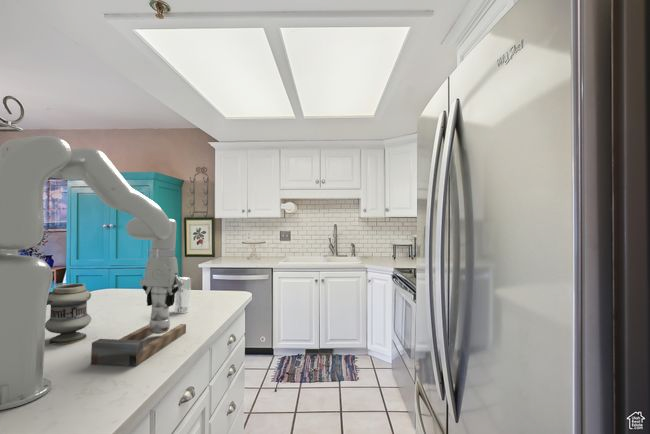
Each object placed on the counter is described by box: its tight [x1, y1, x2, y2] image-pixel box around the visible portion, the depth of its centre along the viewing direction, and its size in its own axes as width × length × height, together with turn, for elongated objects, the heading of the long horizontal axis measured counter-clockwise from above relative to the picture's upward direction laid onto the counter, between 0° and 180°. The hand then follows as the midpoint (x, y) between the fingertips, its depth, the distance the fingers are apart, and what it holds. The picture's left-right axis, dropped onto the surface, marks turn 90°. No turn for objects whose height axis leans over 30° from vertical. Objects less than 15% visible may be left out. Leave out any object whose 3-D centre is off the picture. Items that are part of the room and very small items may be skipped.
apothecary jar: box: [45, 282, 92, 346], centre depth 107 cm, size 12×12×18 cm
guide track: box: [90, 323, 187, 367], centre depth 102 cm, size 28×13×6 cm, turn 177°
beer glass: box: [173, 276, 192, 315], centre depth 143 cm, size 7×7×15 cm
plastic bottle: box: [148, 287, 171, 335], centre depth 111 cm, size 6×7×20 cm
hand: (160, 304), depth 111 cm, fingers closed on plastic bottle, 6 cm apart
